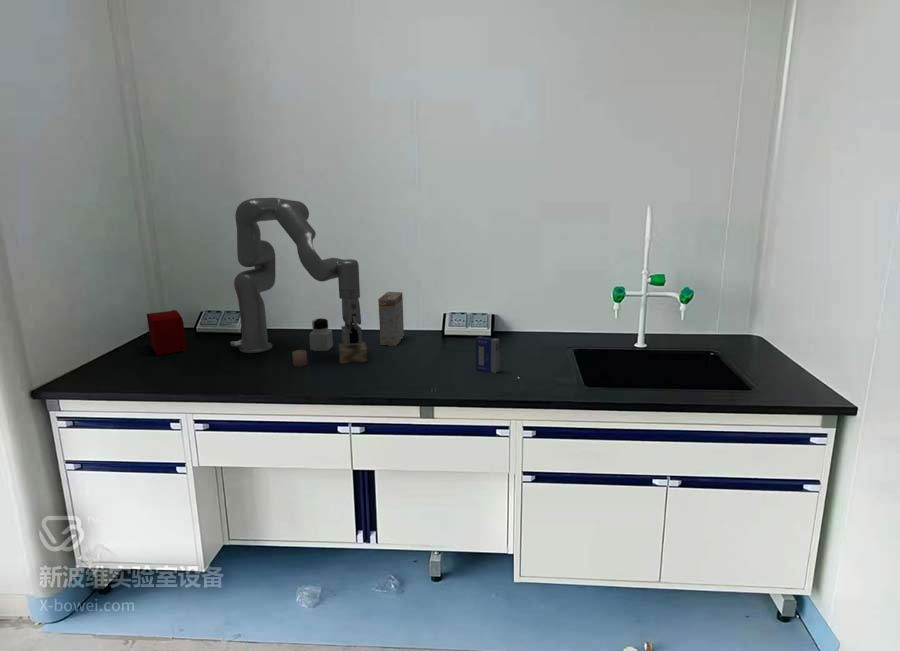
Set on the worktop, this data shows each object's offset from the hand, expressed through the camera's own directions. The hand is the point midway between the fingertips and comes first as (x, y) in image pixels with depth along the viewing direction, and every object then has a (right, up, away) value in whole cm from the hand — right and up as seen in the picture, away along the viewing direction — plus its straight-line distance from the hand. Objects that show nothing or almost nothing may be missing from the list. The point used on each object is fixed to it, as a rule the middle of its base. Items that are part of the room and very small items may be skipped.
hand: (352, 340), depth 214 cm
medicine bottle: (-15, -4, +15) cm, 21 cm away
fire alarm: (-76, -4, +16) cm, 78 cm away
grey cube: (0, -1, 0) cm, 1 cm away
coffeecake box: (+13, -1, +25) cm, 28 cm away
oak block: (0, -7, +2) cm, 7 cm away
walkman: (+50, -10, -14) cm, 53 cm away
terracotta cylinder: (-18, -9, -6) cm, 21 cm away
